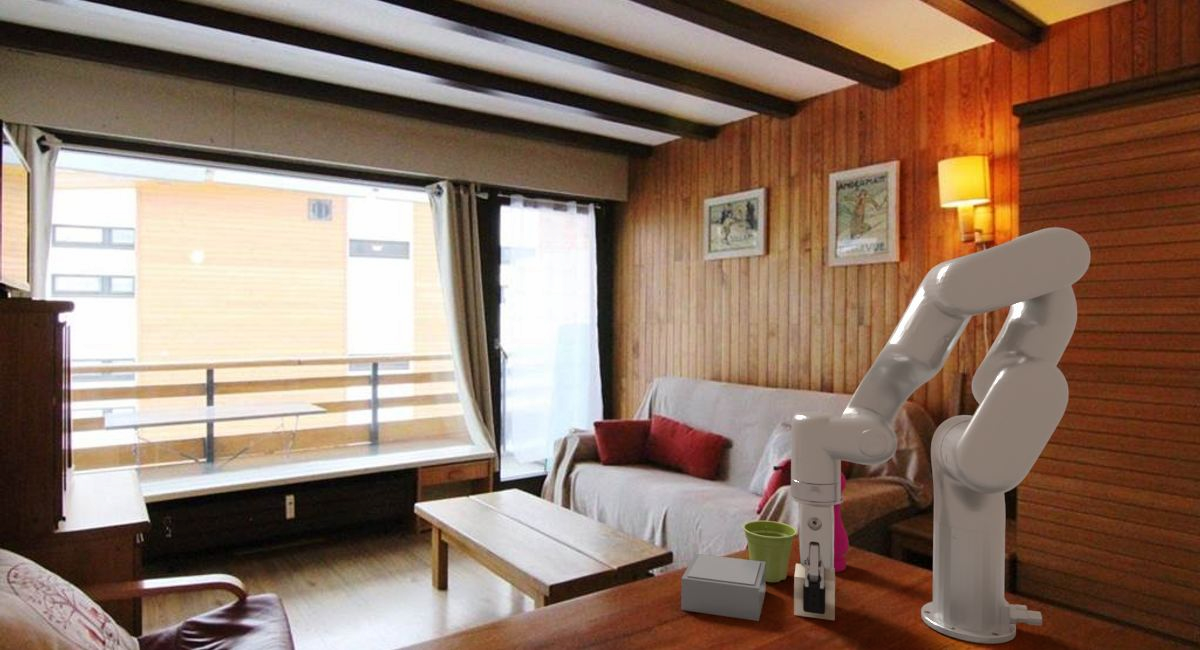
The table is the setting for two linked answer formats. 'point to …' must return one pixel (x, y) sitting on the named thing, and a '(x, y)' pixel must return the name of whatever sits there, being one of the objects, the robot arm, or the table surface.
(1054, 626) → the table surface
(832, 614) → the birch block
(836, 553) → the pepper mill
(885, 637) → the table surface
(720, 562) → the slate stand
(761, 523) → the plant pot
